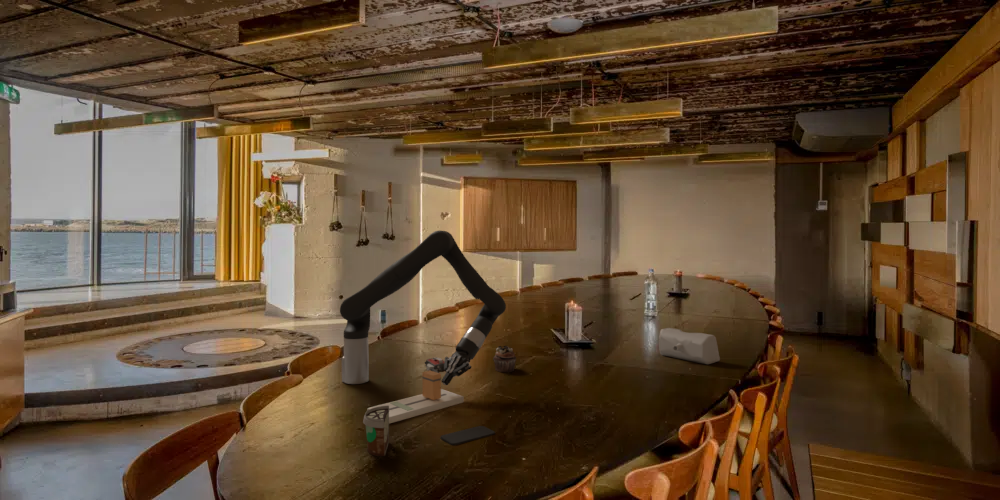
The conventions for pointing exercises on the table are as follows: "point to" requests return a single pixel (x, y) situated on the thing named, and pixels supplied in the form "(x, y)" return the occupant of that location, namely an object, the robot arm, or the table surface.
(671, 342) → the grey faceted block
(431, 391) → the fader tab
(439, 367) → the walkie-talkie
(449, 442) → the phone
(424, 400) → the white slider board
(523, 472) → the table surface
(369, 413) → the food container
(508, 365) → the cupcake
